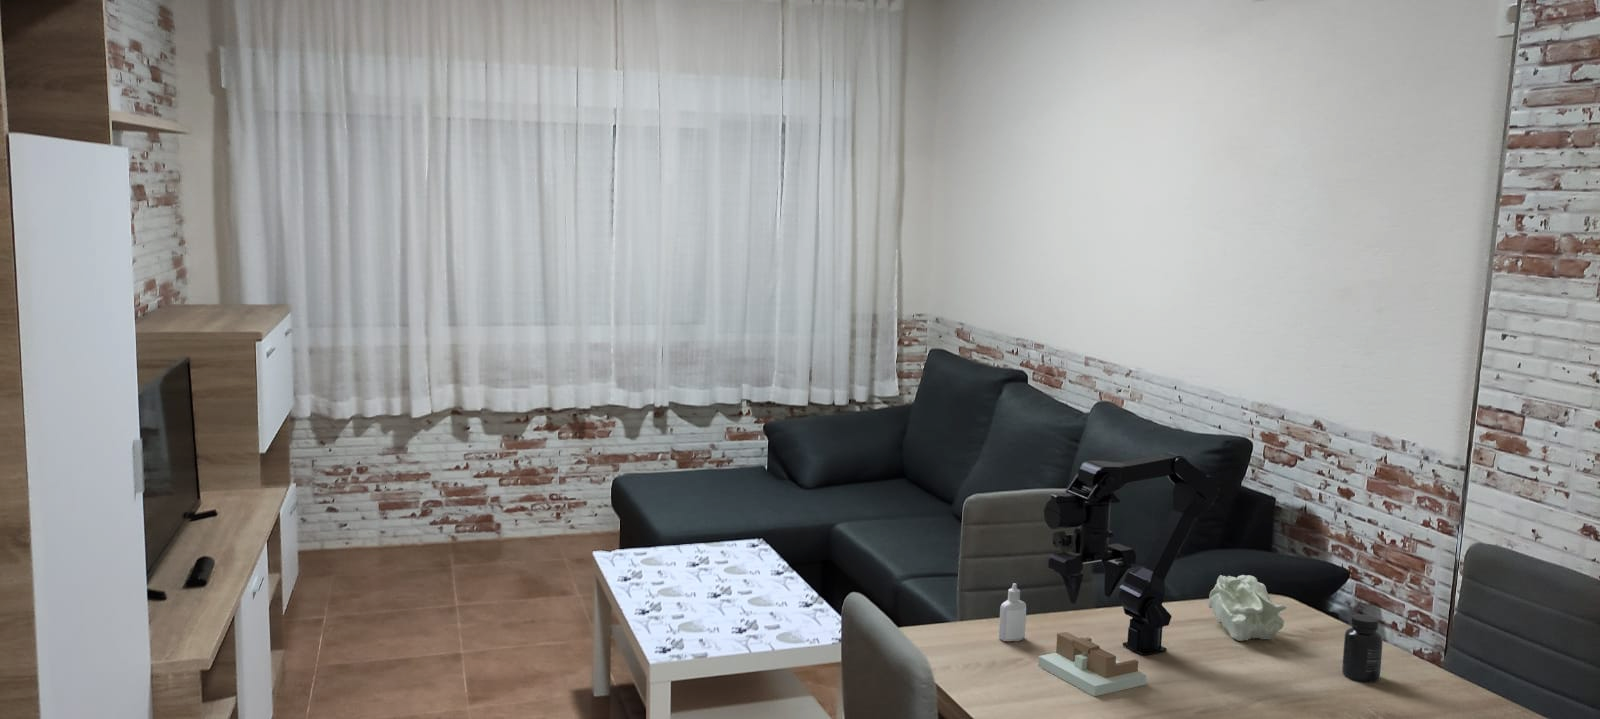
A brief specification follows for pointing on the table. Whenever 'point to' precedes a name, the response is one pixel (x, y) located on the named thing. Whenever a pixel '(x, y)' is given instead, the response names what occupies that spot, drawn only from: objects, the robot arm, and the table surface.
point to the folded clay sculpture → (1245, 608)
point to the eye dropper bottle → (1012, 617)
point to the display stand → (1088, 675)
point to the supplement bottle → (1362, 649)
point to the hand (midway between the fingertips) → (1090, 599)
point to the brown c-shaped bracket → (1093, 656)
